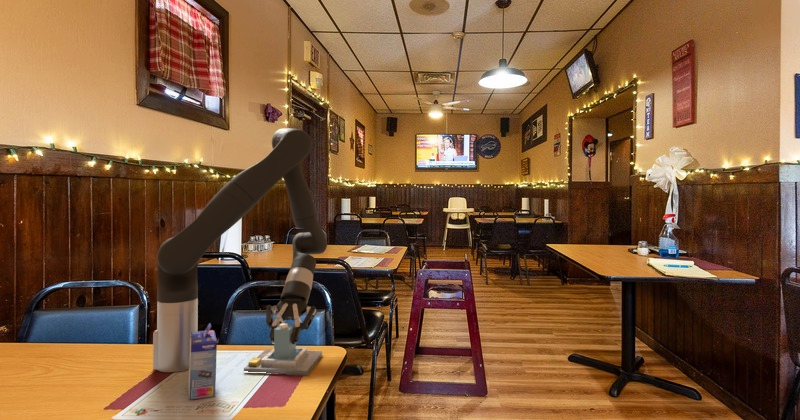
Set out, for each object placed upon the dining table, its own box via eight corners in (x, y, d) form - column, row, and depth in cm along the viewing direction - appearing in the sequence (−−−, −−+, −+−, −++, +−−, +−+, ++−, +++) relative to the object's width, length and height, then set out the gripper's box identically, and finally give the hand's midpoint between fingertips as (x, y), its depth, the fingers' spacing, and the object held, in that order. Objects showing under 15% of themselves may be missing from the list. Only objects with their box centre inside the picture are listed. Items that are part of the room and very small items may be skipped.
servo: (273, 362, 107) (274, 325, 107) (281, 355, 112) (281, 320, 112) (289, 363, 107) (289, 326, 107) (295, 356, 112) (295, 320, 112)
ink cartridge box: (217, 396, 90) (217, 329, 90) (188, 401, 88) (189, 333, 88) (214, 379, 99) (214, 319, 99) (188, 384, 96) (188, 321, 96)
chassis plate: (243, 373, 103) (243, 362, 103) (266, 353, 117) (266, 344, 117) (307, 375, 102) (307, 364, 102) (322, 355, 116) (322, 345, 116)
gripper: (270, 278, 117) (251, 334, 105) (319, 279, 116) (307, 336, 104) (276, 293, 123) (259, 348, 111) (324, 294, 122) (312, 350, 110)
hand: (282, 342), depth 107 cm, fingers open, 4 cm apart
